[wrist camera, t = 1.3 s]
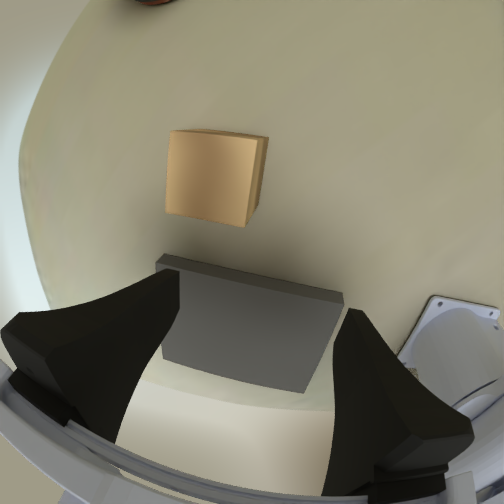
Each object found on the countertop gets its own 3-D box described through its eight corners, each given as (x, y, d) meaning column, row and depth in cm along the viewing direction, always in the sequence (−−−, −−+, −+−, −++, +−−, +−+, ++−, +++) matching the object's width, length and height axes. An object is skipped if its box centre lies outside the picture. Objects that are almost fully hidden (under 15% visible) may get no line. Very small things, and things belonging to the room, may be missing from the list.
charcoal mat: (342, 292, 20) (344, 304, 18) (304, 381, 25) (303, 393, 23) (164, 253, 21) (155, 262, 20) (168, 348, 26) (163, 358, 25)
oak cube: (269, 137, 16) (257, 140, 12) (258, 204, 18) (244, 227, 14) (201, 128, 17) (170, 130, 13) (194, 193, 19) (165, 212, 15)
